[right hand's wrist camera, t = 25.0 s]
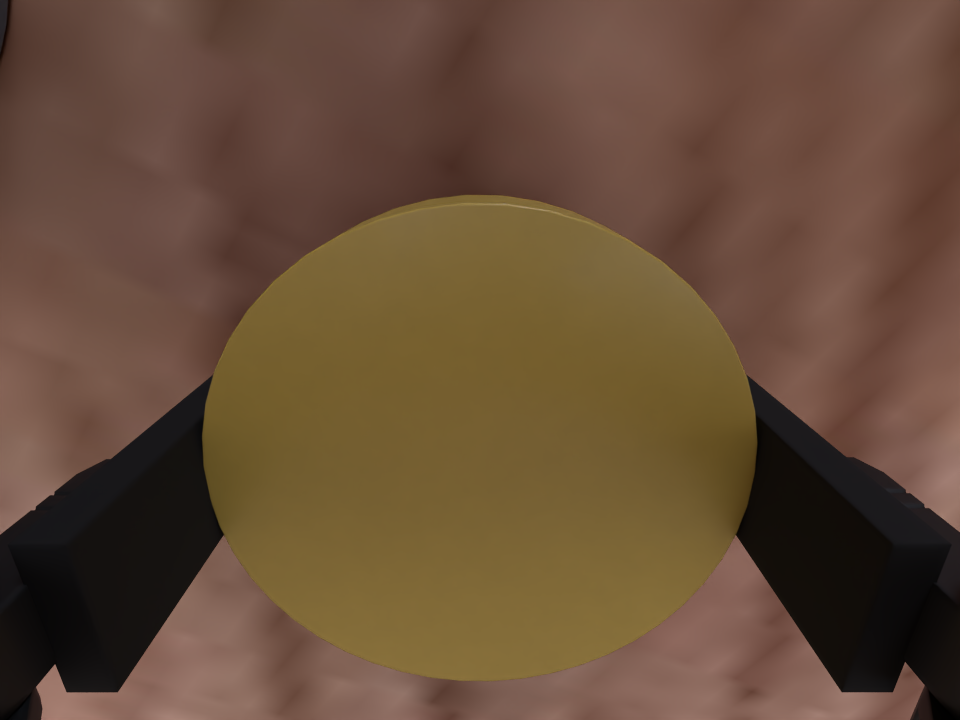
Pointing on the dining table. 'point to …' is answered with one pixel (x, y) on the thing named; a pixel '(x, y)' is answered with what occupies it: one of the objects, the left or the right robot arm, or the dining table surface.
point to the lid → (479, 440)
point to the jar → (3, 20)
